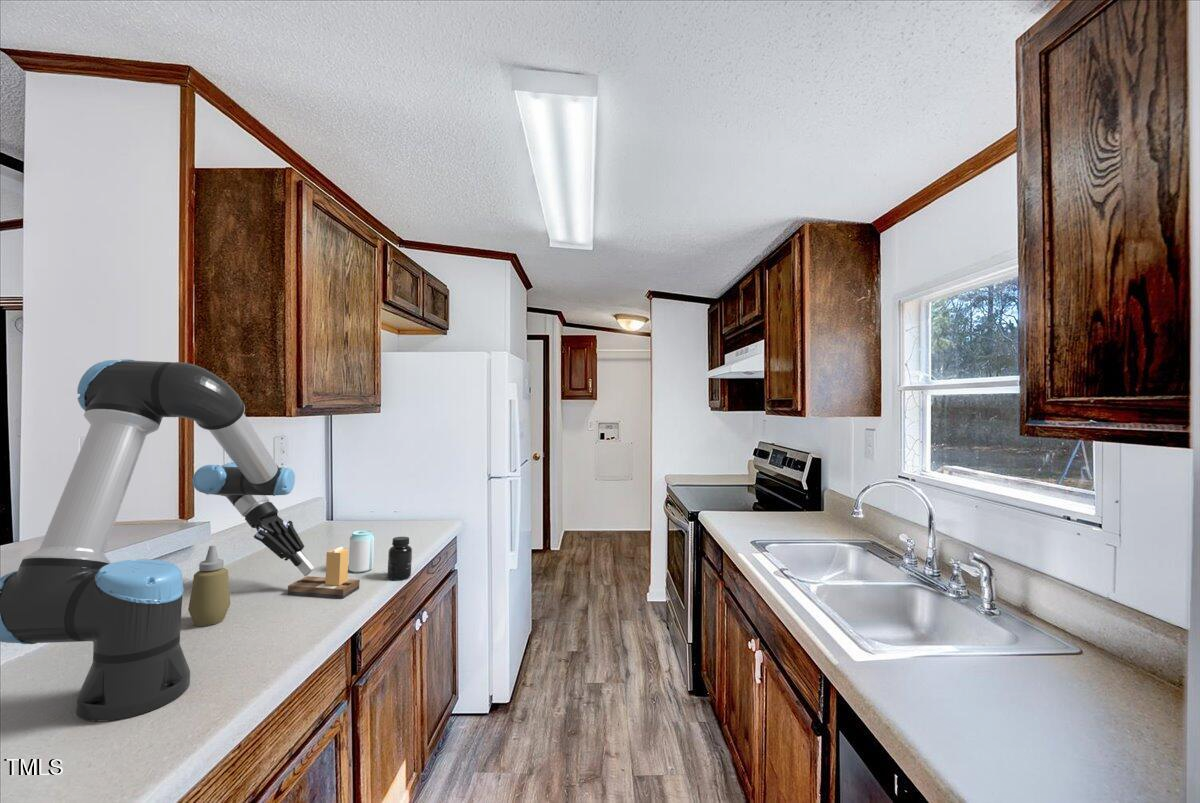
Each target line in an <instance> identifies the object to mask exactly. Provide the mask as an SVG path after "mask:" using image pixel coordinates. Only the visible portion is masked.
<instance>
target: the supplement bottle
mask: <svg viewBox="0 0 1200 803" xmlns="http://www.w3.org/2000/svg"><path fill="white" fill-rule="evenodd" d="M391 545H392V546H391V547H390V548H389V549H388V553H387V555H388V556H387V576H386V577H387V579H388V580H390V581H403V580H404V581H405V580H407V579H409V578H410V577H411V575H412V561H413V560H412V558H413V548H412V546H410V537H408V536H395V537H393V538H392V543H391Z"/></svg>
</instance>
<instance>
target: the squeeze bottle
mask: <svg viewBox="0 0 1200 803" xmlns="http://www.w3.org/2000/svg"><path fill="white" fill-rule="evenodd" d="M216 547H217V546H216V545H210V546H209V547H208V549H207V554H206V556H205V560H203V561H202V560H201V562H199V565H198V569H199V570H198V571H197V572H195V573H193V574H194V575H193V580H192V585H191V591H190V597H189V603H188V613H189V616H190V618H191V620H192V623H193V625H194V626H197V627H208V626H212V625H211V624H213V625H216V624H219V623H222V620H223V619H225V618H226V615H227V613H228V611H229V608H230V605H231V594H230V581H229V571H228V569H226V568H225V567H224V566H225V565H224V562H225V561H224V559H222V558H219V557H218V551H217V548H216ZM223 621H224V620H223ZM218 622H219V623H218ZM215 623H216V624H215ZM207 625H208V626H207Z"/></svg>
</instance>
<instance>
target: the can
mask: <svg viewBox="0 0 1200 803" xmlns="http://www.w3.org/2000/svg"><path fill="white" fill-rule="evenodd" d="M374 546H375V536H374V534H373V531H372V530H363V529H362V530H356V531H353V532H352V534H351V536H350V537H349V546H348V547H349V548H348V549H349V554H348V571H349V572H352V573H355V574H363V573H366V572H370V571H371V570H372V569H373V568H374V551H375V550H374V548H375V547H374Z"/></svg>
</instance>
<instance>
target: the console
mask: <svg viewBox="0 0 1200 803" xmlns="http://www.w3.org/2000/svg"><path fill="white" fill-rule="evenodd" d="M325 580H326V576H325V577H323V576H309V575H306V576H304V577H302V578H300V579H298V580H297V581H294V582H292V583H291V584H288V585H287V596H298V595H300V597H301V596H302V597H313V598H325V599H326V598H327V599H328V598H329V599H341V600H344V599H345V598H347V597H348V596H350V595H351V594H353V593H354V592H356V591H358V590H359V589H360V583H361V582H360V579H352V578H347V581H346V582H345V583H343V585H339V586H336V585H325Z"/></svg>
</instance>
